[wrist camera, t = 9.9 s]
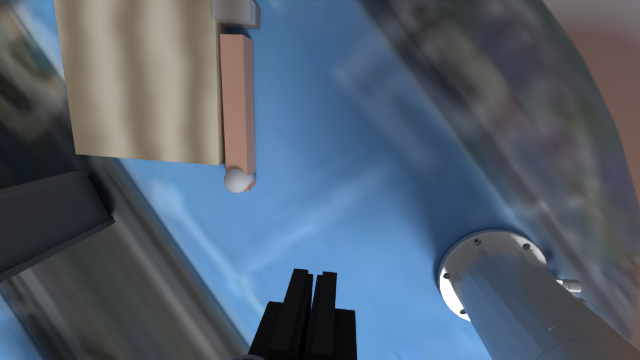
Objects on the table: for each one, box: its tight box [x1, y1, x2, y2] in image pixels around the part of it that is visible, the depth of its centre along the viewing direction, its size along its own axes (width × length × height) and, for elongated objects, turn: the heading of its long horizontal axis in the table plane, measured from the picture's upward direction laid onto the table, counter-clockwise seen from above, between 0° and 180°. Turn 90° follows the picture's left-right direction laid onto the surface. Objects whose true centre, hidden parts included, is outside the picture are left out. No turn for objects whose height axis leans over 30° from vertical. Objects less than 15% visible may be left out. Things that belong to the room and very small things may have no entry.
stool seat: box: [54, 0, 260, 165], centre depth 33 cm, size 21×18×4 cm
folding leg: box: [220, 34, 256, 193], centre depth 33 cm, size 16×3×4 cm, turn 178°
